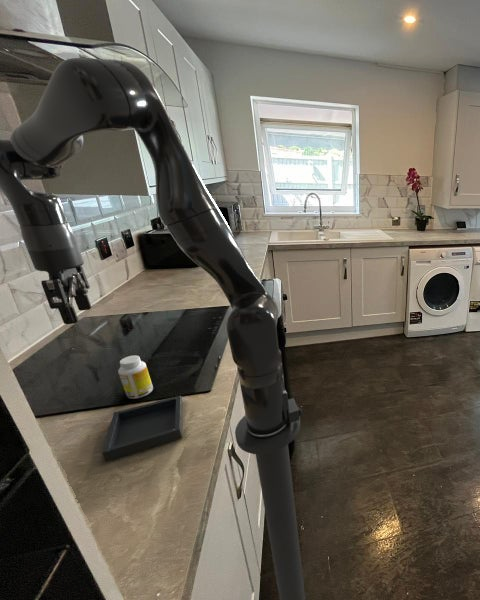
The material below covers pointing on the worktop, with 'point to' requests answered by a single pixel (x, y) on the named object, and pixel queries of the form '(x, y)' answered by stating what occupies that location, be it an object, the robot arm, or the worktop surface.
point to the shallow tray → (144, 428)
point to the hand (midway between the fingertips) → (79, 316)
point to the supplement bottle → (135, 377)
